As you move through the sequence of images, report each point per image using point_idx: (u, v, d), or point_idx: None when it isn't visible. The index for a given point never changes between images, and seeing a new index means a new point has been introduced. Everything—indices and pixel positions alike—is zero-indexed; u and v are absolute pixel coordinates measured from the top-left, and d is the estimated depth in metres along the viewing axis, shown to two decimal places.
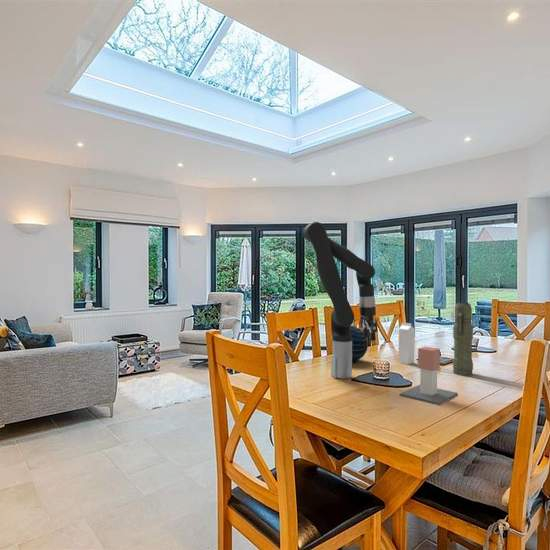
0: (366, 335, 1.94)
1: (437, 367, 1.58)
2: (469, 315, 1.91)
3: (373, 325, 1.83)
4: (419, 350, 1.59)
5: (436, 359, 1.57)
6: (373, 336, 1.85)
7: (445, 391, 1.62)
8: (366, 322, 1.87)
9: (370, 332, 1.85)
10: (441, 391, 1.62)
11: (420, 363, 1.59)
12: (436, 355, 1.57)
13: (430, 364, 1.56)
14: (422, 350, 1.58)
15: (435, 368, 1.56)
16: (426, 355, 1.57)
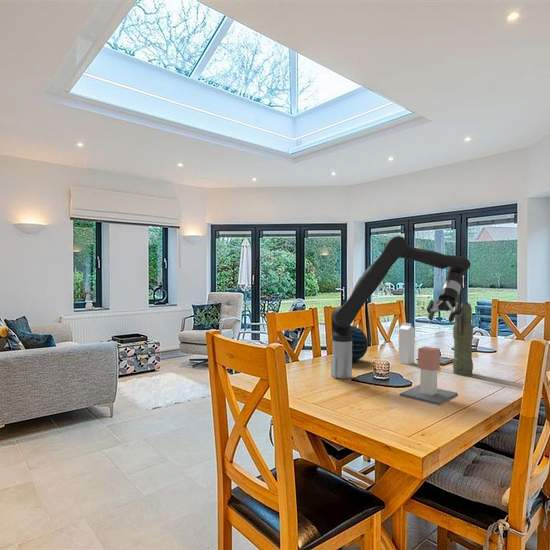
0: (431, 318, 1.74)
1: (437, 367, 1.58)
2: (469, 315, 1.91)
3: (460, 306, 1.69)
4: (419, 350, 1.59)
5: (436, 359, 1.57)
6: (453, 317, 1.68)
7: (445, 391, 1.62)
8: (449, 302, 1.72)
9: (451, 312, 1.69)
10: (441, 391, 1.62)
11: (420, 363, 1.59)
12: (436, 355, 1.57)
13: (430, 364, 1.56)
14: (422, 350, 1.58)
15: (435, 368, 1.56)
16: (426, 355, 1.57)
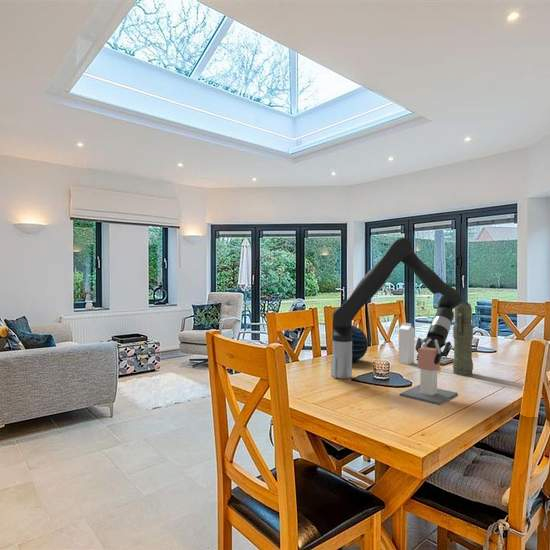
0: None
1: (437, 367, 1.58)
2: (469, 315, 1.91)
3: (448, 348, 1.57)
4: (419, 350, 1.59)
5: None
6: (439, 359, 1.56)
7: (445, 391, 1.62)
8: (437, 342, 1.60)
9: None
10: (441, 391, 1.62)
11: (420, 363, 1.59)
12: None
13: (430, 364, 1.56)
14: (422, 350, 1.58)
15: (435, 368, 1.56)
16: (426, 355, 1.57)
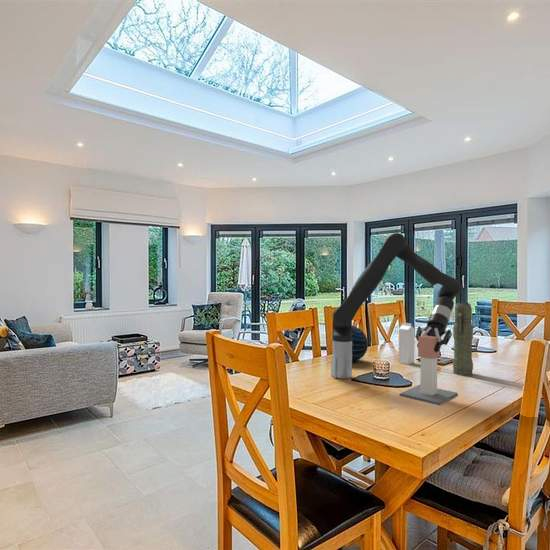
0: None
1: (437, 355, 1.58)
2: (469, 315, 1.91)
3: (448, 336, 1.57)
4: (419, 338, 1.59)
5: None
6: (439, 347, 1.56)
7: (445, 391, 1.62)
8: (437, 330, 1.60)
9: None
10: (441, 391, 1.62)
11: (420, 351, 1.59)
12: None
13: (430, 352, 1.56)
14: (422, 338, 1.58)
15: (435, 356, 1.56)
16: (426, 343, 1.57)
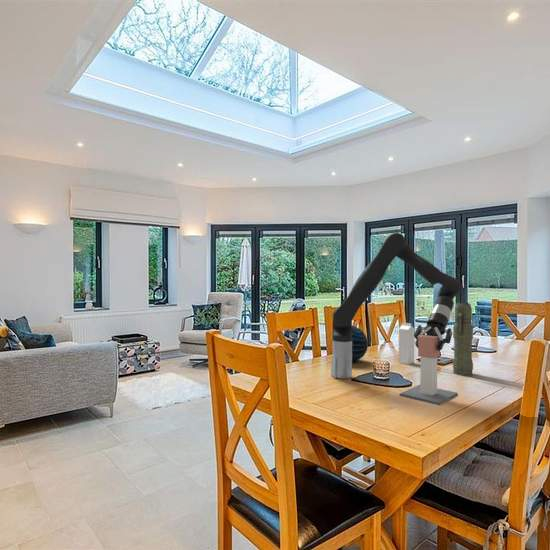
0: None
1: (437, 355, 1.58)
2: (469, 315, 1.91)
3: (450, 334, 1.57)
4: (419, 338, 1.59)
5: (436, 346, 1.57)
6: (441, 345, 1.56)
7: (445, 391, 1.62)
8: (437, 329, 1.60)
9: (440, 340, 1.57)
10: (441, 391, 1.62)
11: (420, 351, 1.59)
12: (436, 343, 1.57)
13: (430, 351, 1.56)
14: (422, 338, 1.58)
15: (435, 356, 1.56)
16: (426, 342, 1.57)
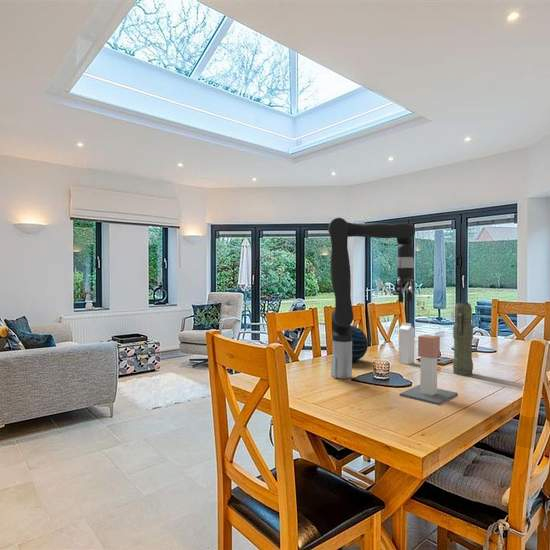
0: (409, 299, 1.87)
1: (437, 355, 1.58)
2: (469, 315, 1.91)
3: (396, 285, 1.80)
4: (419, 338, 1.59)
5: (436, 346, 1.57)
6: (399, 297, 1.81)
7: (445, 391, 1.62)
8: None
9: (398, 293, 1.82)
10: (441, 391, 1.62)
11: (420, 351, 1.59)
12: (436, 343, 1.57)
13: (430, 351, 1.56)
14: (422, 338, 1.58)
15: (435, 356, 1.56)
16: (426, 342, 1.57)
